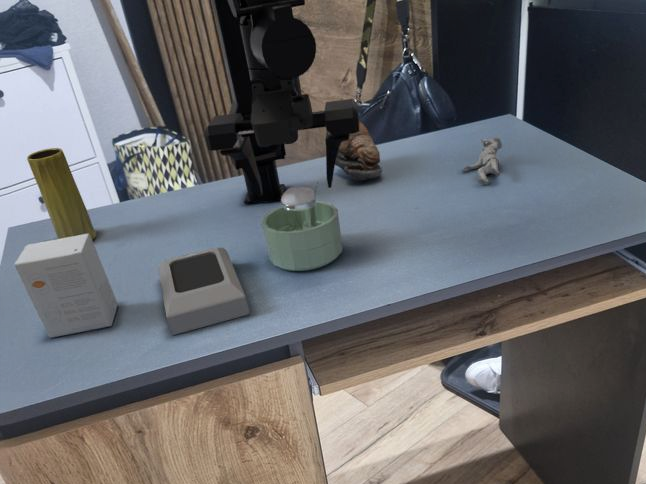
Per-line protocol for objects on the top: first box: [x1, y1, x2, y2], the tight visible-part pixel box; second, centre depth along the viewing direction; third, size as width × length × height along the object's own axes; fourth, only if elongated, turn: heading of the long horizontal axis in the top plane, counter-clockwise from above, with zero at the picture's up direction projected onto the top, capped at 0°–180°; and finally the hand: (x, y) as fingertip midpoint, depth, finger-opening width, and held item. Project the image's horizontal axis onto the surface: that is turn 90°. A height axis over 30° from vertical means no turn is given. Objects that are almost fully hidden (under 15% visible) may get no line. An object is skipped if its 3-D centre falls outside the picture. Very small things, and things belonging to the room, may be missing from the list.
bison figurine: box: [335, 120, 383, 182], centre depth 111 cm, size 12×7×10 cm, turn 28°
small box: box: [13, 233, 119, 339], centre depth 79 cm, size 8×6×10 cm
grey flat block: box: [157, 247, 251, 336], centre depth 82 cm, size 10×4×15 cm
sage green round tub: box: [261, 200, 343, 272], centre depth 88 cm, size 10×10×6 cm
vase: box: [26, 147, 98, 241], centre depth 101 cm, size 6×6×14 cm
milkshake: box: [280, 181, 319, 231], centre depth 86 cm, size 4×5×10 cm
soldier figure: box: [462, 136, 503, 186], centre depth 106 cm, size 8×5×12 cm
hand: (295, 190), depth 84 cm, fingers open, 9 cm apart
